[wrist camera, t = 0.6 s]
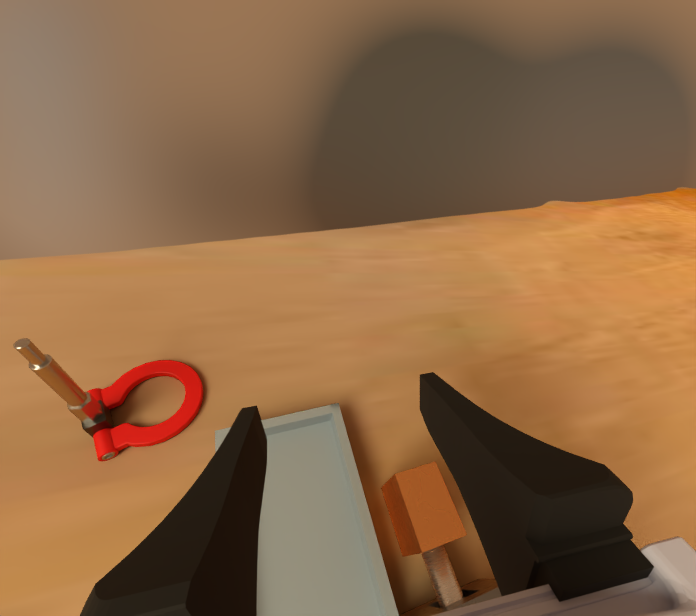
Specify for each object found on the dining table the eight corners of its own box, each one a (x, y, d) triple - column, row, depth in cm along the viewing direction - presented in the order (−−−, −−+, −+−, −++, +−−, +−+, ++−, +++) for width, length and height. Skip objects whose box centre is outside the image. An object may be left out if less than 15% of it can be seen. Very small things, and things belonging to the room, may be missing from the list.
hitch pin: (513, 727, 20) (565, 762, 16) (466, 758, 19) (509, 802, 15) (416, 476, 29) (435, 461, 25) (380, 487, 28) (394, 474, 24)
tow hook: (188, 353, 34) (85, 392, 30) (157, 263, 25) (0, 300, 20) (216, 417, 30) (103, 474, 26) (192, 339, 21) (7, 407, 16)
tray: (417, 714, 20) (430, 728, 18) (234, 817, 17) (227, 847, 15) (335, 413, 32) (338, 402, 30) (219, 440, 29) (214, 430, 27)
